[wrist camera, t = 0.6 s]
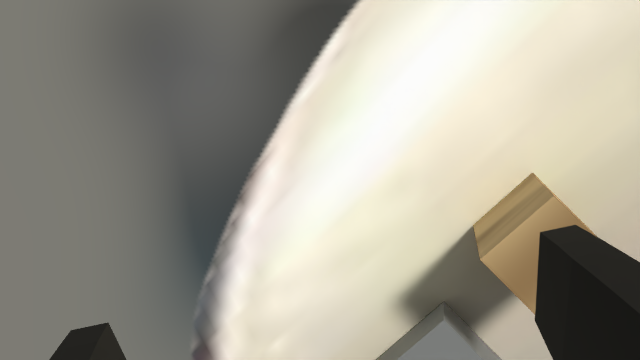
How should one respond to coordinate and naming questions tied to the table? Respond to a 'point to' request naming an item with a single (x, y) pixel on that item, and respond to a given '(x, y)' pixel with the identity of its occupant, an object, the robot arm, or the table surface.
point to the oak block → (521, 235)
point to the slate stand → (440, 340)
